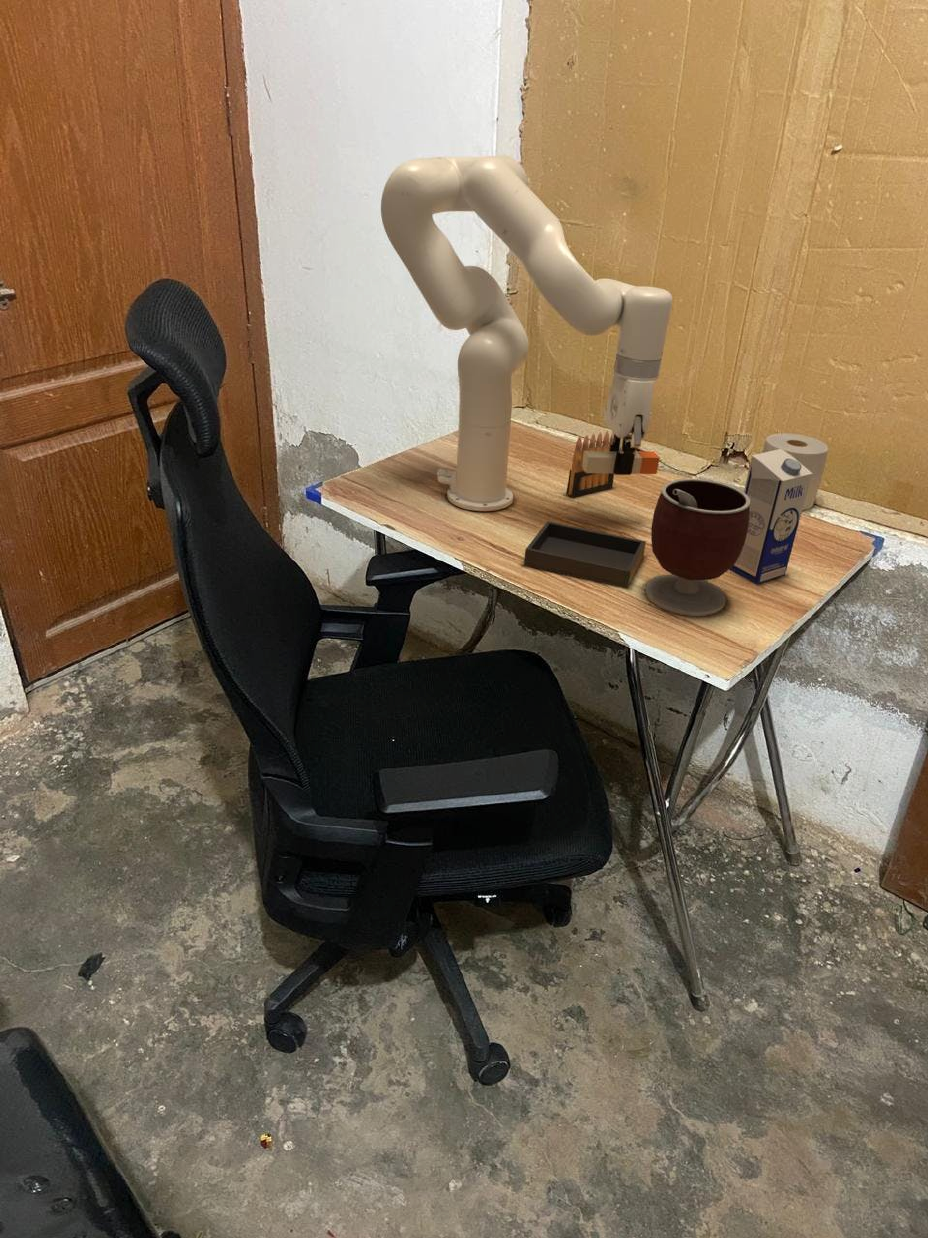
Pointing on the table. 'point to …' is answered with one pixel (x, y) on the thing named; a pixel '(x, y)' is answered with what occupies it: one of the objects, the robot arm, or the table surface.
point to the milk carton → (772, 514)
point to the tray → (585, 554)
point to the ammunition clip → (588, 482)
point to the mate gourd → (696, 543)
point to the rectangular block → (606, 460)
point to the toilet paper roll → (802, 457)
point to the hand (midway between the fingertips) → (619, 469)
